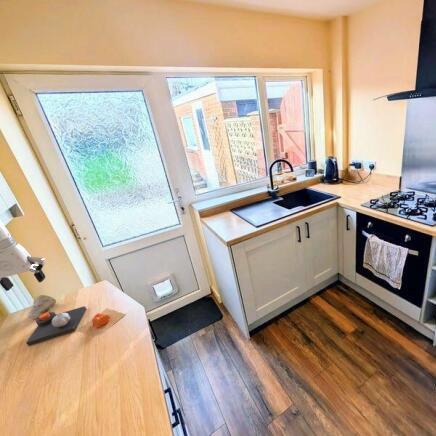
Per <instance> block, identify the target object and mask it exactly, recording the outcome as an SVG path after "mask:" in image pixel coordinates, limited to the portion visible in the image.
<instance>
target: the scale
mask: <svg viewBox="0 0 436 436" xmlns="http://www.w3.org/2000/svg"><path fill="white" fill-rule="evenodd" d="M86 311H87V307H86V306H80V307H77V308H73V309H70V310H67V311H63V312H60V313H57V314H56V312H54V311H50V313H49V314H50V317H49V318H48V319H46V320H44V321H41V320H40V318H39V317H38V318H36V321H35V324H36V325H37V326H36V328H35V329H34V331H33V332H32V333H31V334H30V336H29V338H28V339H27V340H26V341H25V344H26V345H27V346H28V347H30V346H33V345H36V344H39V343H42V342H46V341H49V340H52V339H55V338H58V337H61V336H65V335H68V334H71V333H74V332H76V331H77V330H78V329H77V328H78V327H79V325H80V323H81V321H82V319H83V317H84V315H85V314H86ZM61 313H68V314H69V316H70V320H69V322H68V323H67V324H66V325H65V326H61V327H55V326H53V325H52V319H53V318H54V317H55V316H56V315H58V314H61Z"/></svg>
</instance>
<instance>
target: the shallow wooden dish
mask: <svg viewBox="0 0 436 436" xmlns="http://www.w3.org/2000/svg"><path fill="white" fill-rule="evenodd" d="M125 315H126V313H124V312H119V311H117V310H114V309H110V308H105V309H103V310H102V311H101V312H97V313H96V314H95V315H94V316H93V317H92V319H90V320H89V321H87V322H86V323H85V324H84V325H82V326H81V327H80V328H79V329H77V331H78V332H80V333H82V334H84V335H85V334H86V335H87V336H90V337H99V336H101V335H102V334H104V333H105V332H106V331H107V330H108V329H110V328H111V327H112V326H113V325H114V324H116V323H118V321H120V320H121V319H122V318H124V316H125Z"/></svg>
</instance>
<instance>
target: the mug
mask: <svg viewBox="0 0 436 436" xmlns="http://www.w3.org/2000/svg"><path fill="white" fill-rule="evenodd" d="M56 303H57V300H56V299H55V298H54V297H52V296H50V295H45V294H39V295H38V296H37V297H36V298H35V299H34V300H33V303H32V307H31V309H30V310H29V311H28V313H27V314H26V316H27V318H29V319H30V320H37V319H38V318H39V316H40V315H42V314H43V313H46V312H48V313H50V312H51V310H52V308H53V307H54V306H55V305H56Z"/></svg>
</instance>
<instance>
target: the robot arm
mask: <svg viewBox="0 0 436 436" xmlns="http://www.w3.org/2000/svg"><path fill="white" fill-rule="evenodd" d="M45 260H46V259H45V258H44V257H37V256H32V255H31V254H30V253H29V252H28V251H27V249H26V248H25V247H24V246H22V245H21V244H20V243H19V242H16V241H15V239H14V237H13V236H12V234H11V233H10V232H9V230H8V229H7V227H6V226H5V224H4V222H3V221H2V219H0V286H1V287H2V288H3V289H4V290H5V291H6V292H8V291H10V290H11V289H12V288H13V287H14V286H15V285H14V284H13V282H12V281H11V279H10V278H9V277H12V276H16V275H20V274H23V273H27V272H28V271H29V272H30V273H31V272H32V273H33V276H34V277H35V279H36V280H37V282H38V283H42V282H43V281H44V280H45V279H46V275H45V273H44V271H43V270H42V269H43V268H44V266H45ZM36 263H37V264H36Z"/></svg>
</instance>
